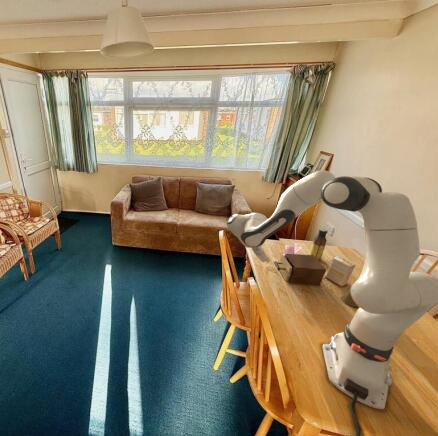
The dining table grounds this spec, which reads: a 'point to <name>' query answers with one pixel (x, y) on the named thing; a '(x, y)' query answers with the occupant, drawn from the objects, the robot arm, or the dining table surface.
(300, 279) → the cabinet
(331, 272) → the supplement box
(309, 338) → the dining table surface
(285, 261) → the drawer
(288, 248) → the lily
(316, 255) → the sauce bottle
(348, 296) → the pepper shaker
